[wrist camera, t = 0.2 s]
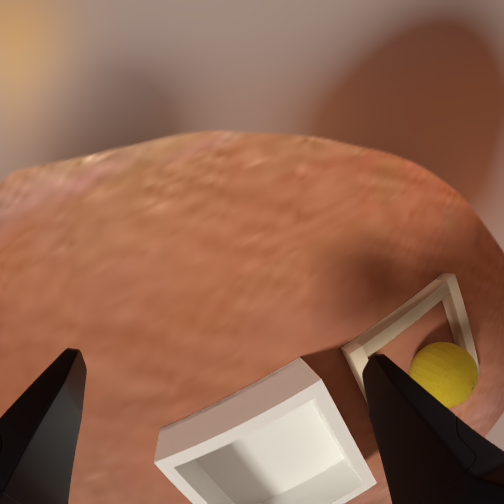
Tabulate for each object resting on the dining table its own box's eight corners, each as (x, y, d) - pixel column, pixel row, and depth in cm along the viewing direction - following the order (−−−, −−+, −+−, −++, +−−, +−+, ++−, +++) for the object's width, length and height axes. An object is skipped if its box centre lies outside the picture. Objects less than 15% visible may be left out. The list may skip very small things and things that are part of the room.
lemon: (395, 397, 26) (446, 432, 18) (390, 346, 26) (447, 373, 18) (438, 374, 27) (491, 400, 19) (435, 325, 27) (494, 343, 19)
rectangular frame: (469, 369, 28) (480, 373, 26) (383, 441, 26) (392, 449, 25) (442, 272, 27) (454, 273, 25) (340, 348, 25) (349, 354, 24)
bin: (354, 455, 26) (376, 483, 21) (237, 515, 24) (244, 548, 19) (299, 356, 25) (321, 379, 20) (160, 428, 23) (153, 462, 18)
